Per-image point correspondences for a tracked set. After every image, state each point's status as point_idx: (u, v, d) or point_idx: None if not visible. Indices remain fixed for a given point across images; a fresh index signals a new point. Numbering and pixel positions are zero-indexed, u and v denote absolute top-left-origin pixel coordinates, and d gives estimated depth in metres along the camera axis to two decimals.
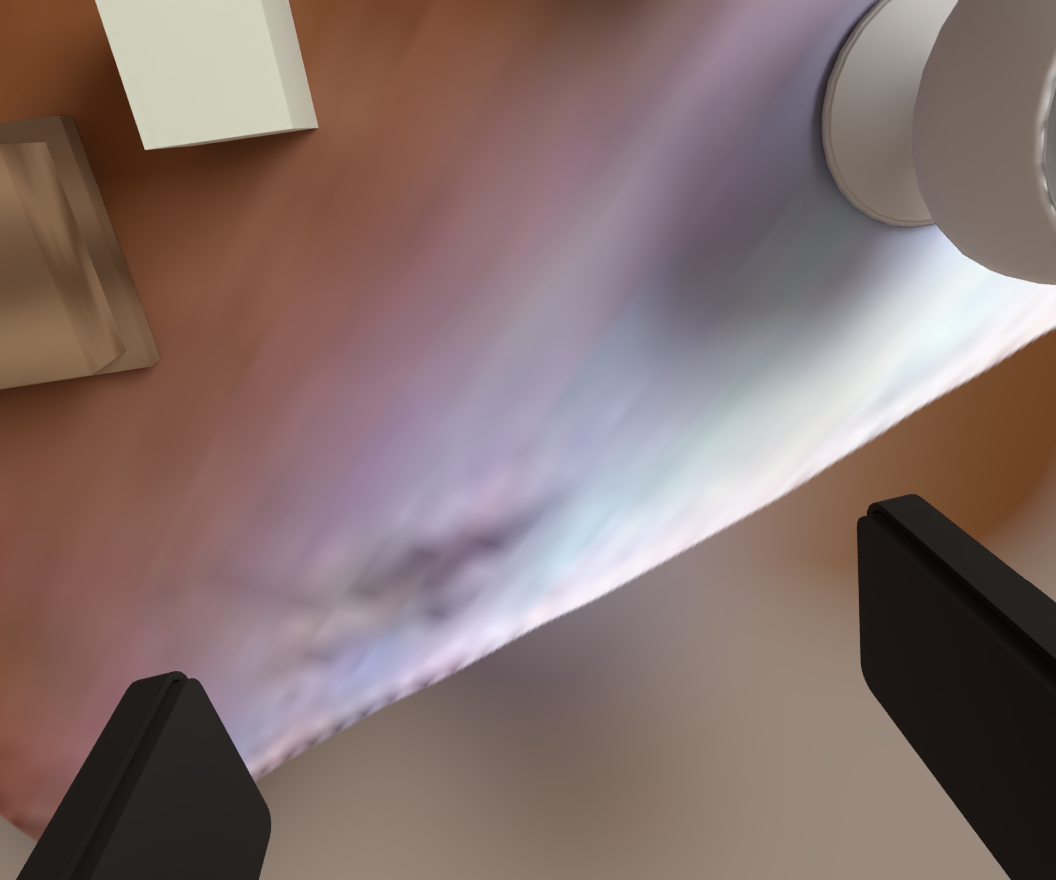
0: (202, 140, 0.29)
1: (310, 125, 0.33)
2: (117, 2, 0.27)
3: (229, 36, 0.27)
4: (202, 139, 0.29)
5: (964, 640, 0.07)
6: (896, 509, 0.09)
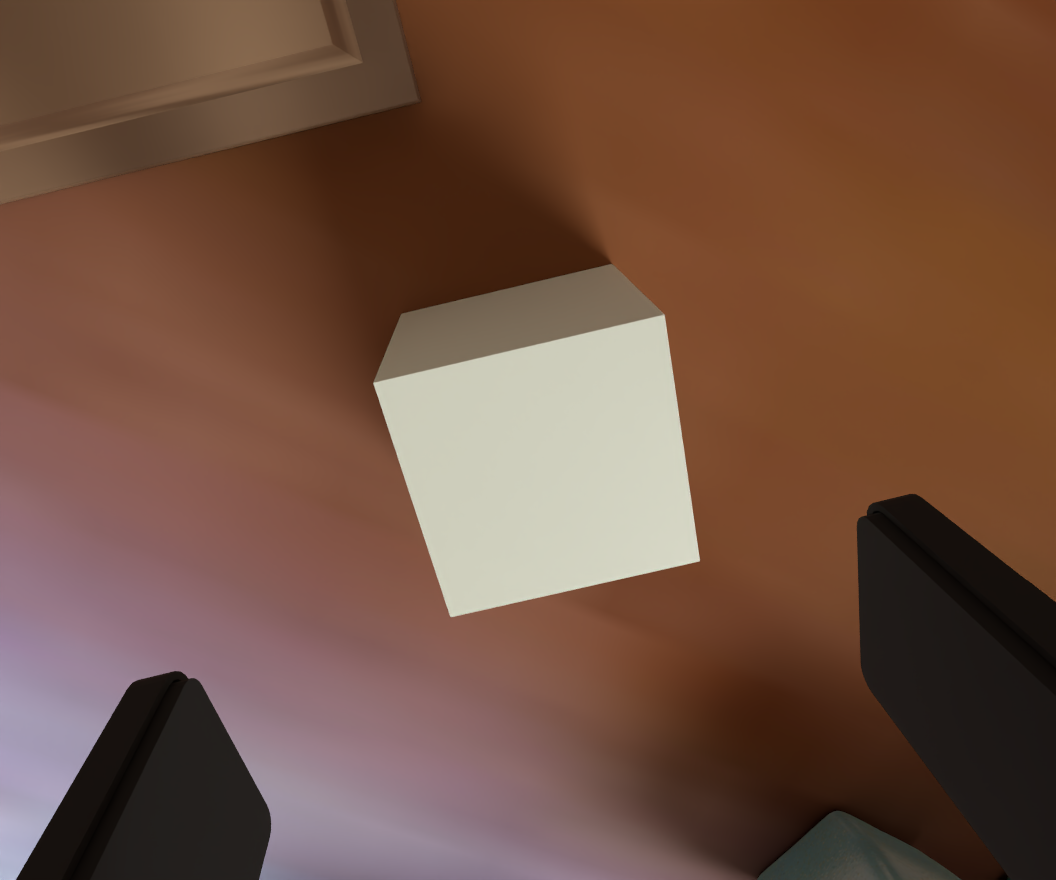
0: (408, 482, 0.15)
1: None
2: (624, 361, 0.14)
3: (583, 530, 0.16)
4: (410, 483, 0.15)
5: (964, 640, 0.07)
6: (896, 509, 0.09)
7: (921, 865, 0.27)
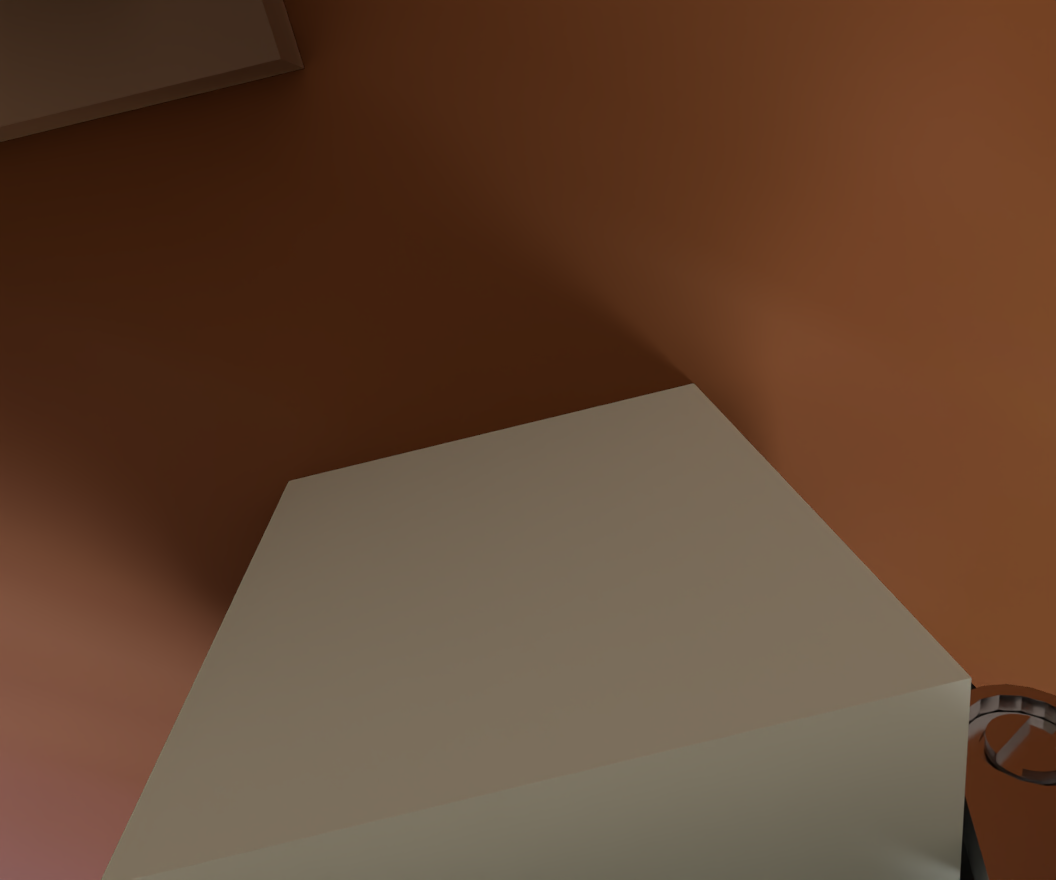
0: None
1: None
2: (839, 789, 0.05)
3: None
4: None
5: None
6: None
7: None
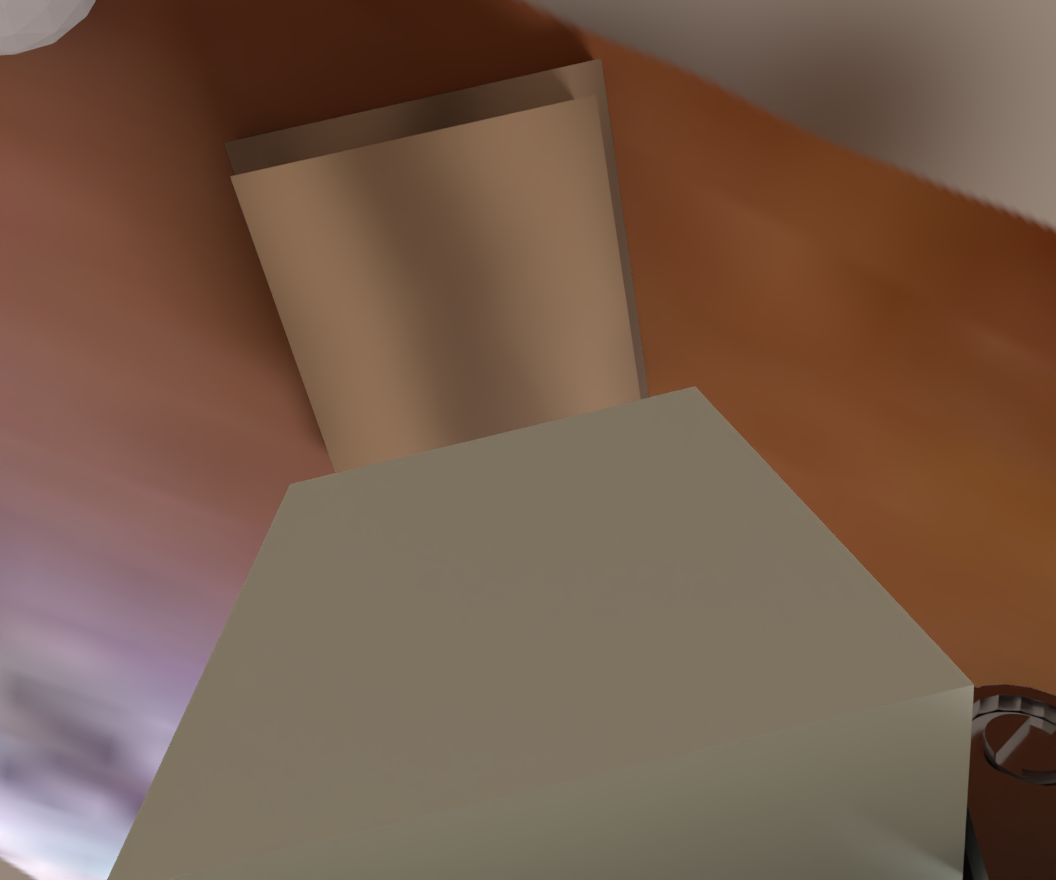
0: None
1: None
2: (842, 795, 0.05)
3: None
4: None
5: None
6: None
7: None
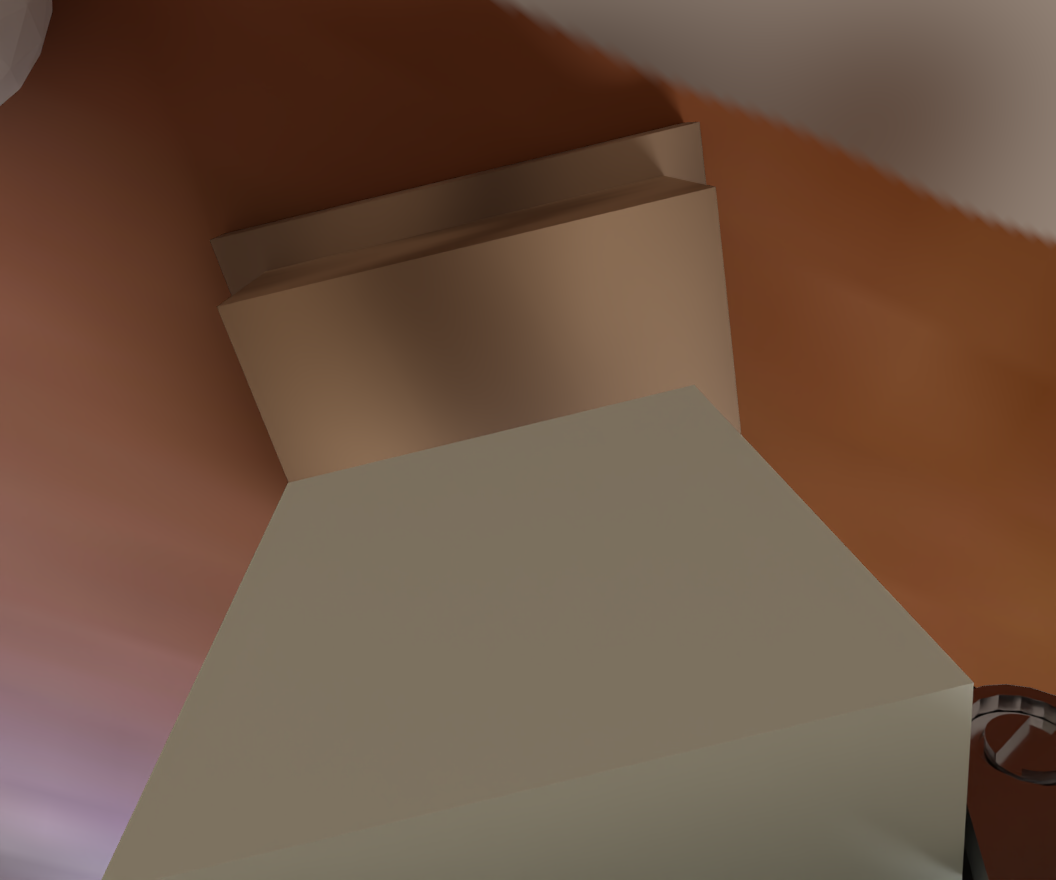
0: None
1: None
2: (841, 794, 0.05)
3: None
4: None
5: None
6: None
7: None
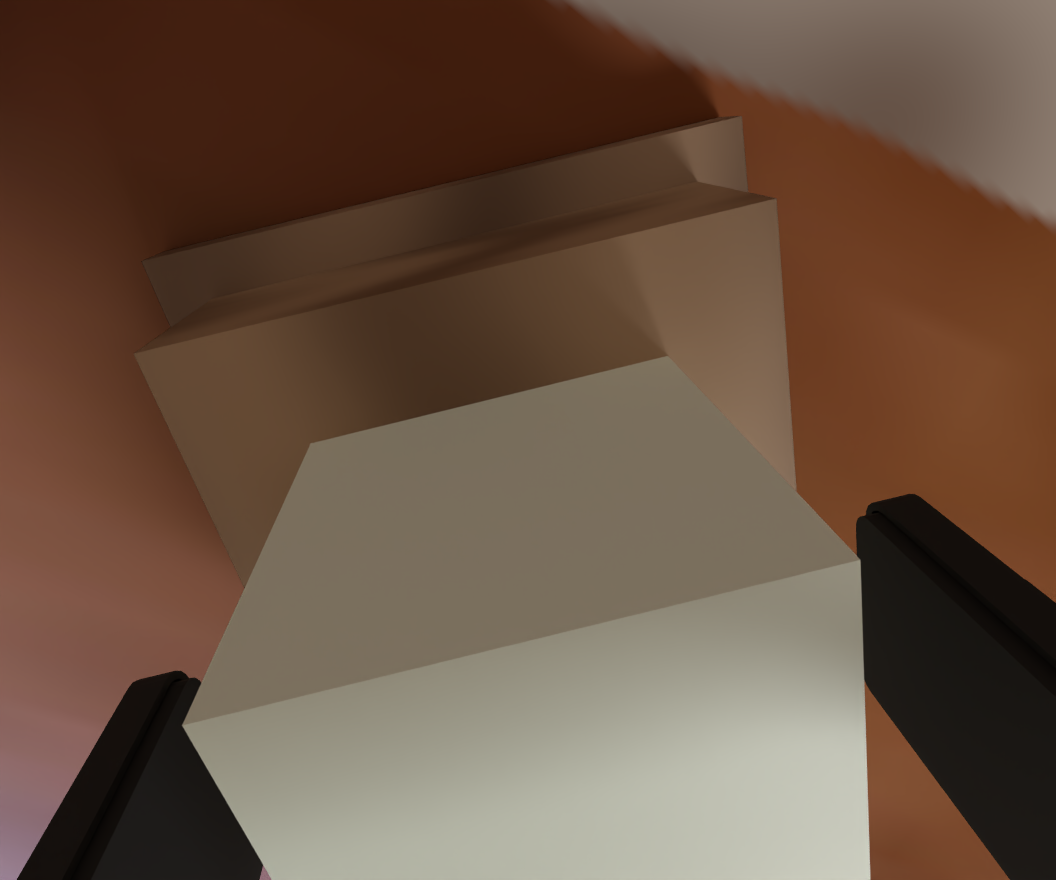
0: None
1: None
2: (762, 653, 0.06)
3: None
4: None
5: (963, 639, 0.07)
6: (895, 509, 0.09)
7: None
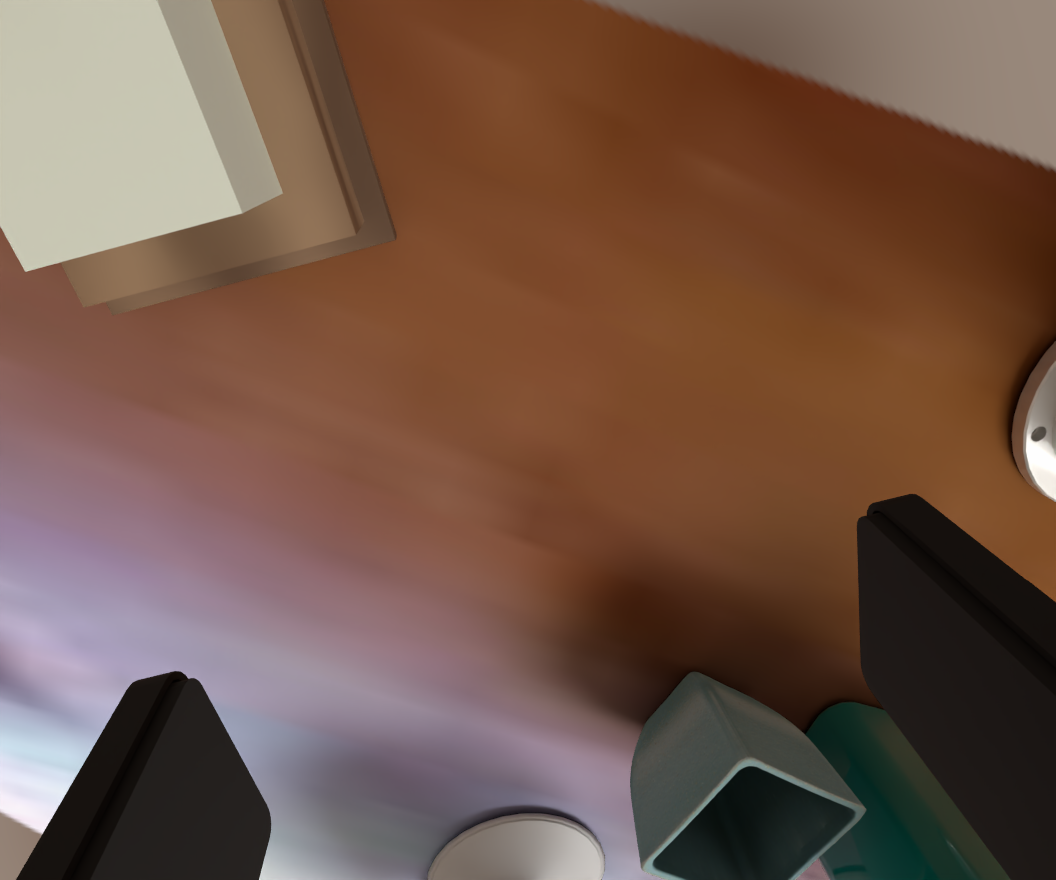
0: None
1: None
2: (115, 1, 0.17)
3: (125, 179, 0.18)
4: None
5: (964, 640, 0.07)
6: (896, 509, 0.09)
7: (743, 699, 0.41)
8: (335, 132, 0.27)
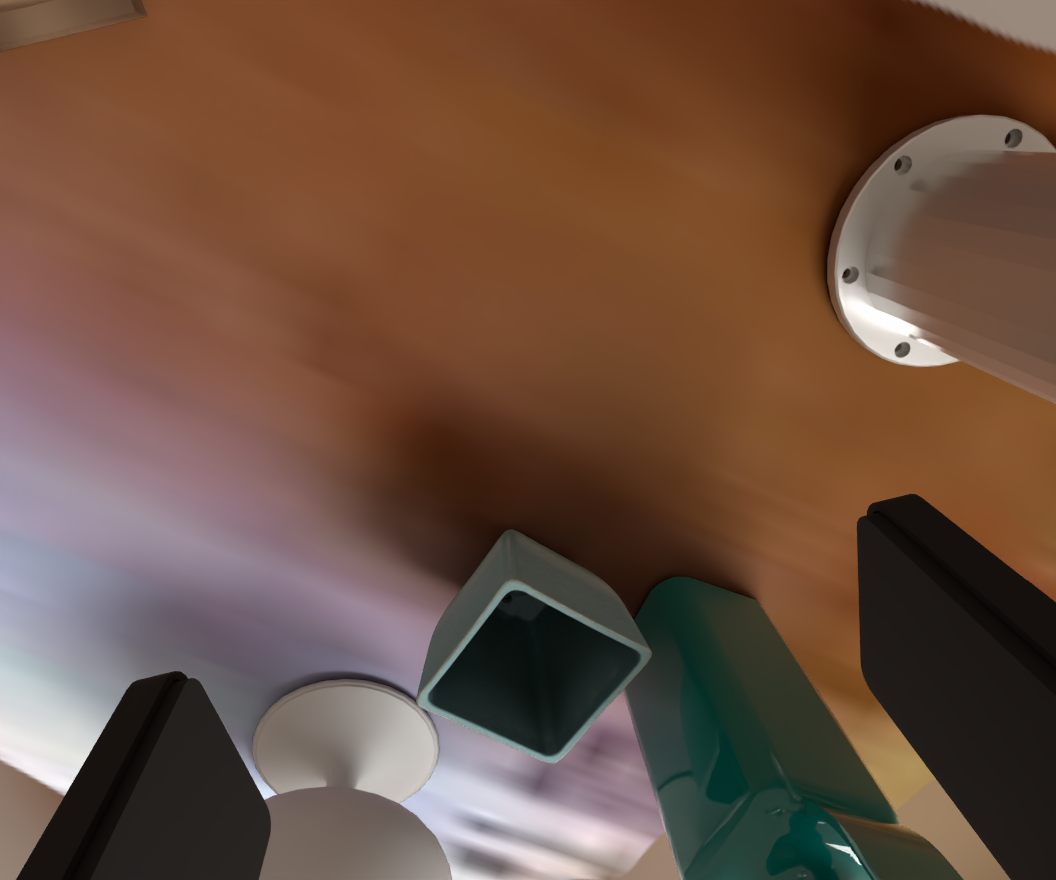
0: None
1: None
2: None
3: None
4: None
5: (964, 640, 0.07)
6: (896, 509, 0.09)
7: (554, 554, 0.40)
8: None
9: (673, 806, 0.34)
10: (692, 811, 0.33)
